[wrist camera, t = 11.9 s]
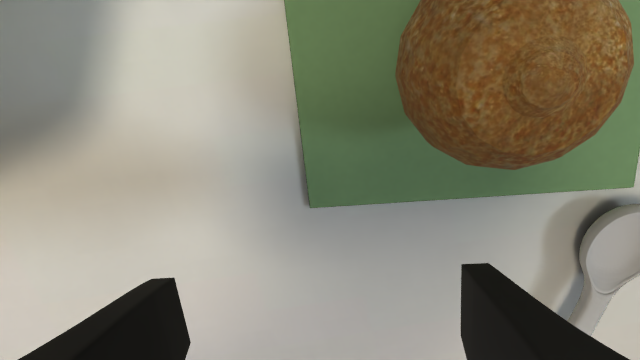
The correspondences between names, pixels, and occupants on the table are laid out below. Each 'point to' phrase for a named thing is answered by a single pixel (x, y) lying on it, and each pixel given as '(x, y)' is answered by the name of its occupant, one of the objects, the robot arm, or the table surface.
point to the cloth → (399, 132)
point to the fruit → (513, 76)
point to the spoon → (607, 263)
